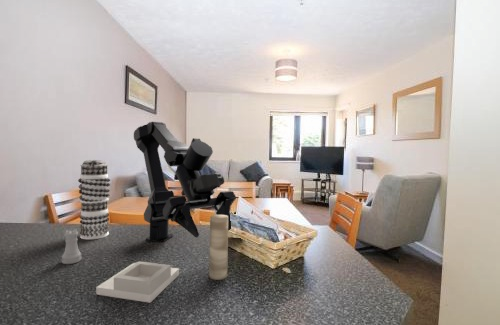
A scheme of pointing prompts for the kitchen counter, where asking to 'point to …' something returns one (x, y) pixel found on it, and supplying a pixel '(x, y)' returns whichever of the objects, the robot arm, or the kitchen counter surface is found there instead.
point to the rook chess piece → (71, 248)
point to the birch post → (218, 247)
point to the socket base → (139, 281)
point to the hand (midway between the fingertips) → (214, 232)
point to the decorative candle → (94, 199)
